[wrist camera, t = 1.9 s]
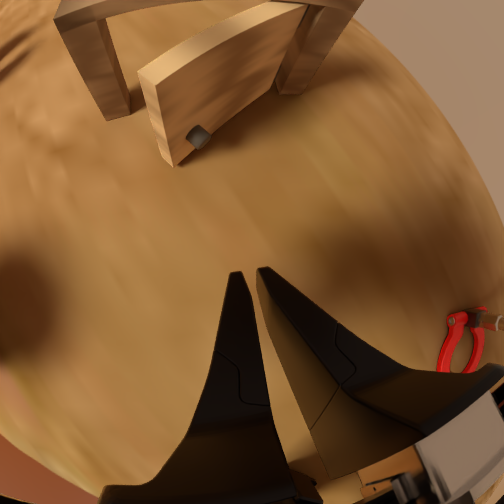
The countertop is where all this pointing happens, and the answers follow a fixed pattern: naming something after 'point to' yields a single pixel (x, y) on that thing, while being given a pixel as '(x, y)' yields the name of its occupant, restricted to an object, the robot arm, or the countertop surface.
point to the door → (216, 75)
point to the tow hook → (477, 323)
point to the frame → (114, 3)
